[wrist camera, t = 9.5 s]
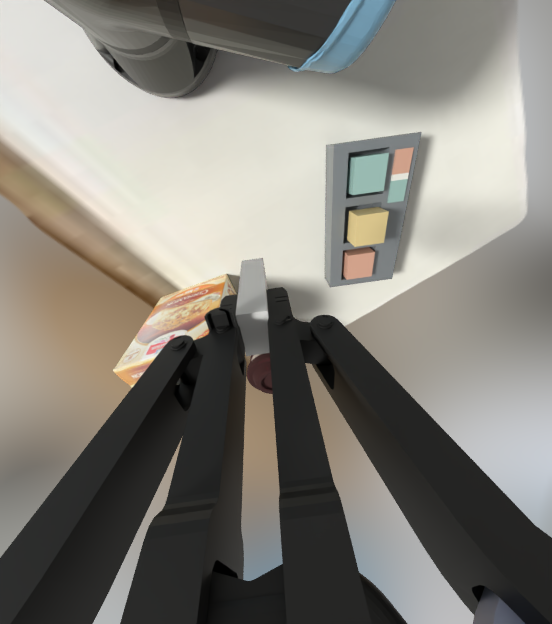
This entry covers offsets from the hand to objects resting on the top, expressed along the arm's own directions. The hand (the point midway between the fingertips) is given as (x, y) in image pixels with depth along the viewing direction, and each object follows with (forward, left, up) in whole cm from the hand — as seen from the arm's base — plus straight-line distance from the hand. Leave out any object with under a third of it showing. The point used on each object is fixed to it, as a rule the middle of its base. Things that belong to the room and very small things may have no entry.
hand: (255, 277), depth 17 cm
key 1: (+11, +17, -25) cm, 32 cm away
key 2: (-3, +17, -25) cm, 30 cm away
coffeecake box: (+16, -14, -27) cm, 34 cm away
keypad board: (+4, +18, -26) cm, 32 cm away
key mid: (+4, +17, -22) cm, 28 cm away
